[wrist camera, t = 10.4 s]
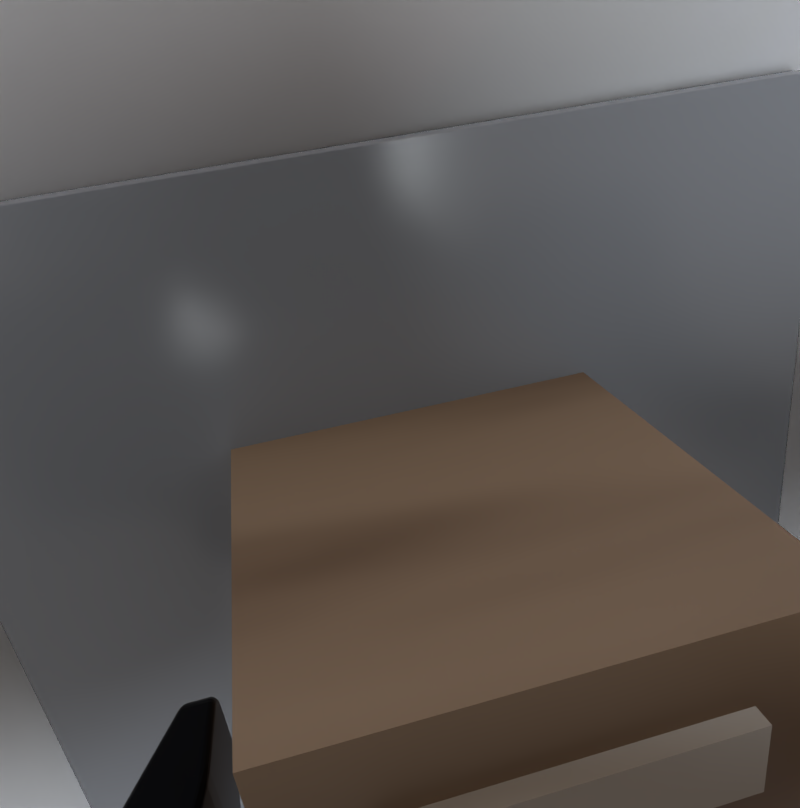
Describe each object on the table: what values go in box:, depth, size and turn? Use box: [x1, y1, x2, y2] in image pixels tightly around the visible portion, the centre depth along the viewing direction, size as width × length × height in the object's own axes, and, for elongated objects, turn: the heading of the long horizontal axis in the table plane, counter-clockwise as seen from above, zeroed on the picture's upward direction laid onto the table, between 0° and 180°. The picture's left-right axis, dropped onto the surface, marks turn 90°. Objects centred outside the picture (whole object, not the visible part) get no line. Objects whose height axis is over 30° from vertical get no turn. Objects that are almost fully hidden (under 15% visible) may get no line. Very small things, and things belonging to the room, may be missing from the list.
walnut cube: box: [231, 372, 800, 808], centre depth 8 cm, size 5×5×5 cm
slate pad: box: [0, 70, 800, 808], centre depth 11 cm, size 12×12×1 cm
